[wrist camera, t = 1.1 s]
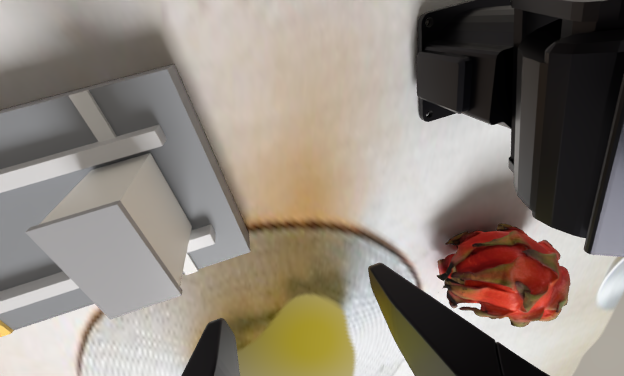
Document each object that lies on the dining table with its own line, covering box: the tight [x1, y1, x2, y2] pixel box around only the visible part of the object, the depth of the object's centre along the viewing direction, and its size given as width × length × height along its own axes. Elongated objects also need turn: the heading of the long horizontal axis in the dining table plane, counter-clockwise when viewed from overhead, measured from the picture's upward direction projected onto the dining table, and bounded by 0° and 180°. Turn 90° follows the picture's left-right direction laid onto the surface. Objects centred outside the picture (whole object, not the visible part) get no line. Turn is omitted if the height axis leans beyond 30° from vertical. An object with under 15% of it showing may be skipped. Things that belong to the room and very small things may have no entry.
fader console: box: [0, 64, 250, 337], centre depth 16 cm, size 22×12×3 cm, turn 103°
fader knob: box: [25, 153, 192, 319], centre depth 14 cm, size 3×5×5 cm, turn 13°
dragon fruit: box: [437, 224, 570, 327], centre depth 26 cm, size 8×8×12 cm
